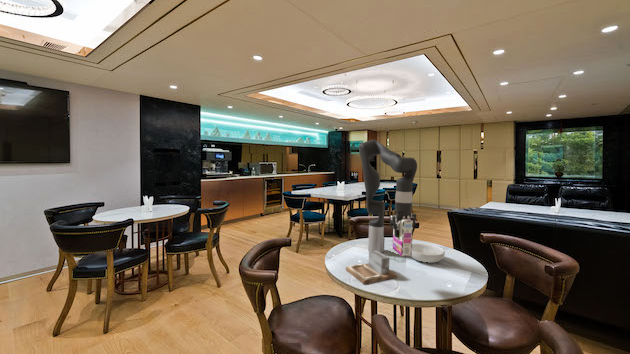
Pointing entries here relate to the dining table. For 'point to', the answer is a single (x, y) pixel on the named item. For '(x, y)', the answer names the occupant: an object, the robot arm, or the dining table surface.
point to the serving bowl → (427, 253)
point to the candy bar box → (404, 238)
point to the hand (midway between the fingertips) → (402, 236)
